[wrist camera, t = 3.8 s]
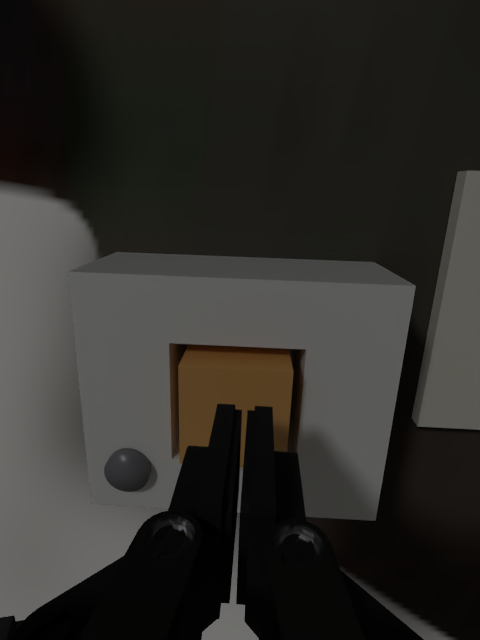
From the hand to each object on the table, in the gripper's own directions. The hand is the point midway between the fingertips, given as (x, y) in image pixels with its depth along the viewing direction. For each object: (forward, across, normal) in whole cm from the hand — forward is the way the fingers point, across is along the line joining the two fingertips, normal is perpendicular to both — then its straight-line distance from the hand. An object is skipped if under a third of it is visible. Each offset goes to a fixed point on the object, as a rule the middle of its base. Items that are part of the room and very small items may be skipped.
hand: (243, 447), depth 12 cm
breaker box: (+8, 0, +1) cm, 8 cm away
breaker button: (+7, +1, +1) cm, 7 cm away
